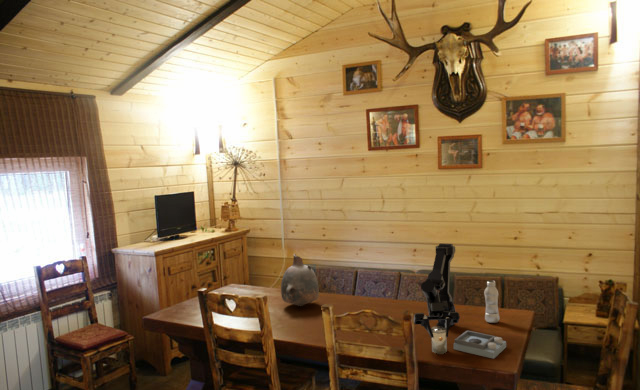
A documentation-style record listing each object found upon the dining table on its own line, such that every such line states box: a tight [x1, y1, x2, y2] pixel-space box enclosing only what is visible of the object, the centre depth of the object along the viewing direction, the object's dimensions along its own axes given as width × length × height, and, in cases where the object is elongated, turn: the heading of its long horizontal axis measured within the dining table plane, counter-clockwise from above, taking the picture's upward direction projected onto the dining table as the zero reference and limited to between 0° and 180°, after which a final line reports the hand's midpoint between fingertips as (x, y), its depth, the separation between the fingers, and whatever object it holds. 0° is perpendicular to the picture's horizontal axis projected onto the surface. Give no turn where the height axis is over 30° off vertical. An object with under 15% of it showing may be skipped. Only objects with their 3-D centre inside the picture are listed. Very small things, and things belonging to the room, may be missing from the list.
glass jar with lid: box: [431, 325, 448, 355], centre depth 198 cm, size 8×6×10 cm
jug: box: [280, 253, 320, 307], centre depth 270 cm, size 24×21×30 cm
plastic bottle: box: [483, 280, 500, 324], centre depth 230 cm, size 6×7×20 cm
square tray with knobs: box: [453, 330, 507, 359], centre depth 201 cm, size 17×14×4 cm
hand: (439, 337), depth 198 cm, fingers closed on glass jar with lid, 6 cm apart
